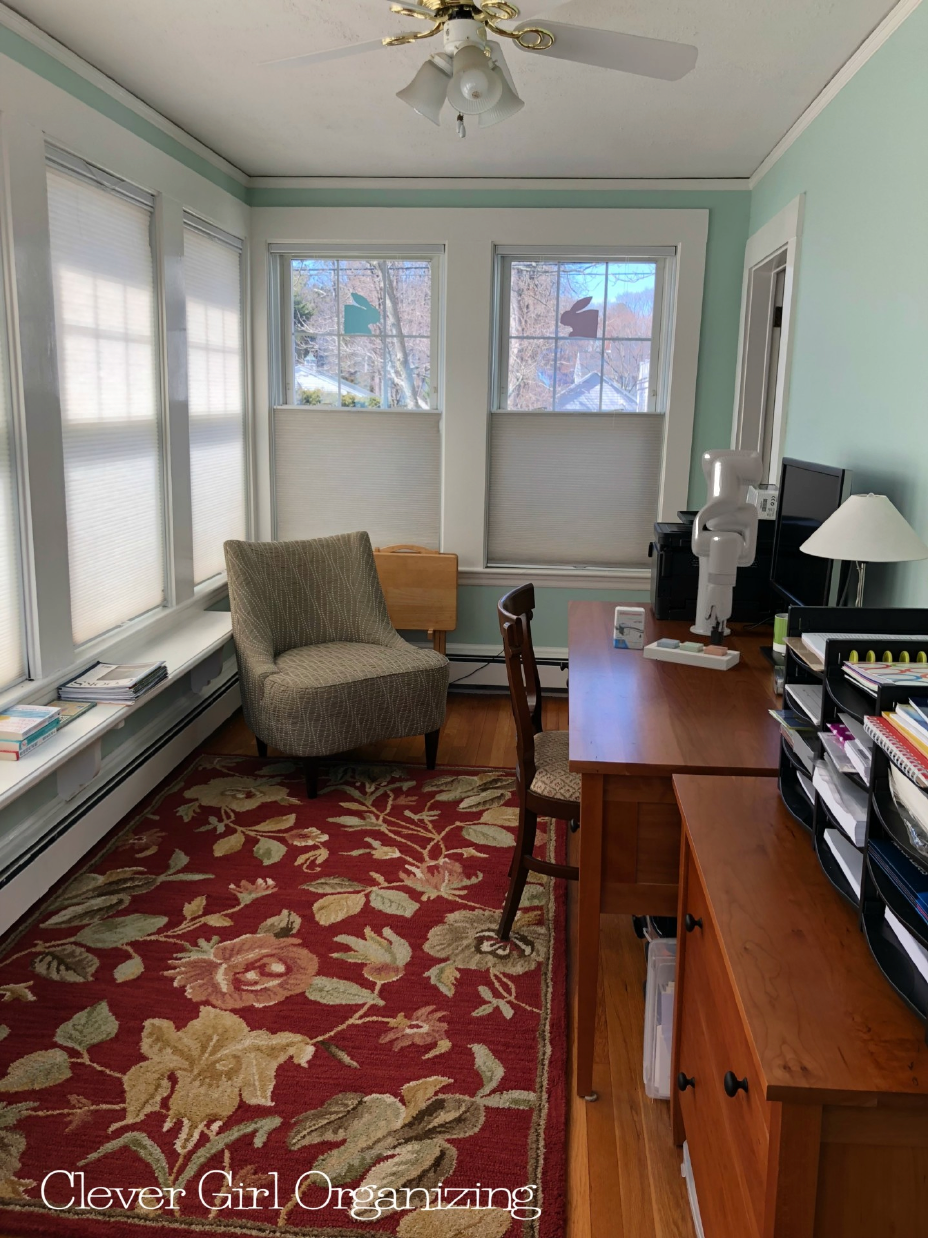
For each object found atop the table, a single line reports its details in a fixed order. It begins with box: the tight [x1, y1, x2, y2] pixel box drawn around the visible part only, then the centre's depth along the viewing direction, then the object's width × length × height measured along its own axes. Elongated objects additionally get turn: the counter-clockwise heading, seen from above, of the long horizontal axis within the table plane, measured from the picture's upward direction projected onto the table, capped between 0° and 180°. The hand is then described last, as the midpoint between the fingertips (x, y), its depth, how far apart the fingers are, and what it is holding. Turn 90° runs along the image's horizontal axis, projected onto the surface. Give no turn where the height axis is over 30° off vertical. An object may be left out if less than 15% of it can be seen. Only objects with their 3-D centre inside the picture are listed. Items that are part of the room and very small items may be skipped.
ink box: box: [612, 606, 646, 650], centre depth 290 cm, size 9×5×12 cm, turn 84°
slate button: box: [657, 638, 681, 649], centre depth 280 cm, size 5×5×3 cm
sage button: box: [680, 641, 704, 653], centre depth 276 cm, size 5×5×3 cm
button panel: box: [642, 640, 741, 671], centre depth 276 cm, size 12×24×3 cm, turn 58°
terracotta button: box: [704, 644, 728, 657], centre depth 272 cm, size 5×5×3 cm
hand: (716, 644), depth 272 cm, fingers closed
